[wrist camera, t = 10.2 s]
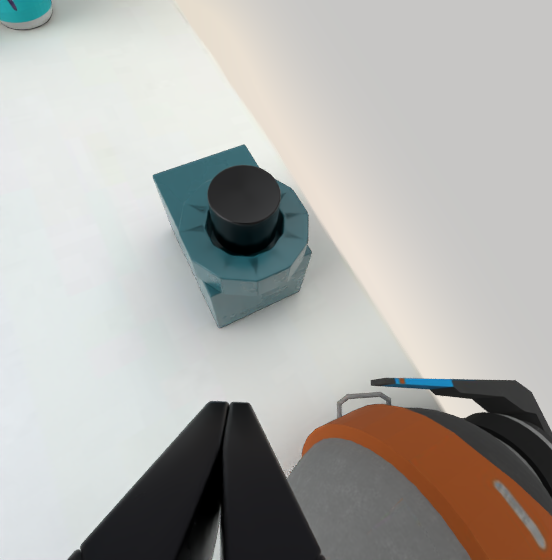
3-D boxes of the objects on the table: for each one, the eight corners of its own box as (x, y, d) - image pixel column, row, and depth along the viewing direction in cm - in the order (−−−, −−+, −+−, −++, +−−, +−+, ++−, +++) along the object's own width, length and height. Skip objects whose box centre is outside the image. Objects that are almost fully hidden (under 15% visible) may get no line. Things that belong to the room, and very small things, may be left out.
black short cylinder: (288, 240, 17) (294, 207, 14) (229, 264, 16) (225, 234, 14) (259, 192, 18) (260, 155, 15) (203, 214, 17) (195, 178, 15)
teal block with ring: (309, 302, 22) (332, 248, 16) (223, 344, 21) (211, 302, 15) (247, 197, 25) (246, 117, 19) (169, 227, 24) (139, 151, 18)
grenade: (272, 729, 14) (487, 524, 21) (564, 1263, 5) (758, 595, 12) (193, 442, 16) (411, 347, 23) (297, 463, 7) (593, 302, 15)
